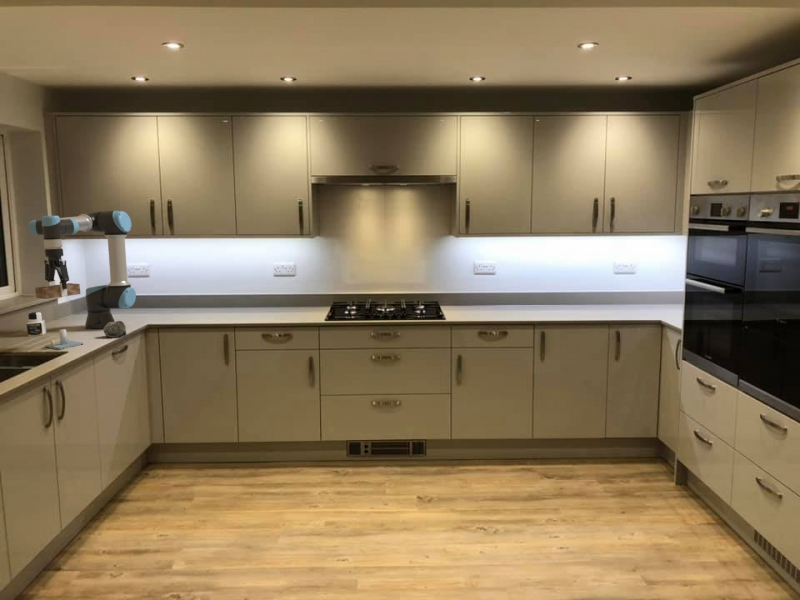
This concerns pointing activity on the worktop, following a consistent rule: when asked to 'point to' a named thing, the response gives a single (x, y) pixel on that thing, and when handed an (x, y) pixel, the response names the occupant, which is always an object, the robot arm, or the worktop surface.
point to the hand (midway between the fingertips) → (58, 295)
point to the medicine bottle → (36, 324)
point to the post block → (63, 341)
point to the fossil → (115, 329)
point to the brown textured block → (56, 291)
